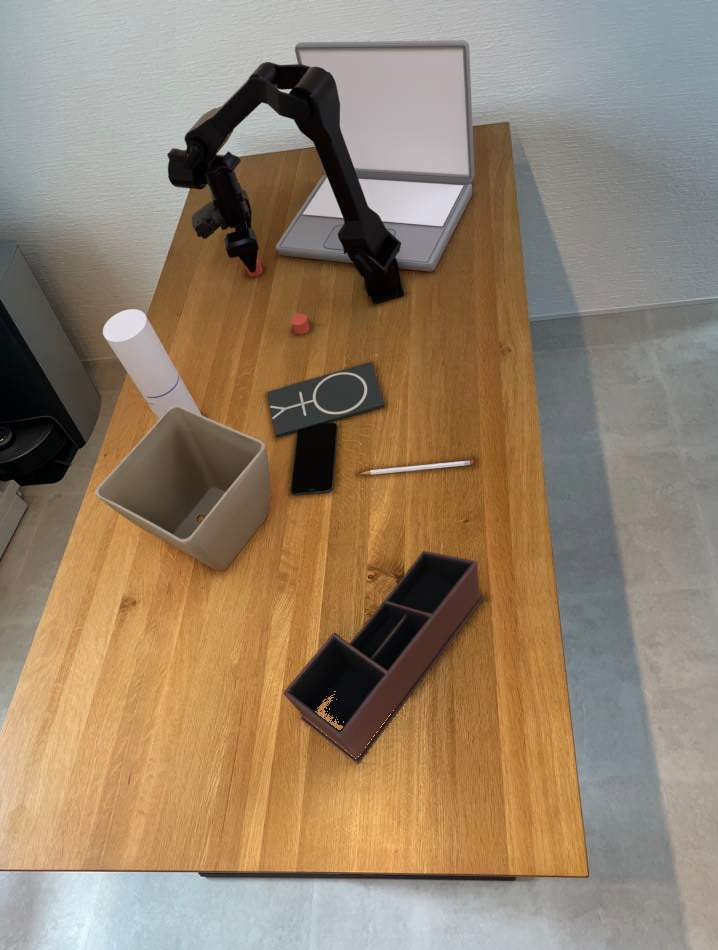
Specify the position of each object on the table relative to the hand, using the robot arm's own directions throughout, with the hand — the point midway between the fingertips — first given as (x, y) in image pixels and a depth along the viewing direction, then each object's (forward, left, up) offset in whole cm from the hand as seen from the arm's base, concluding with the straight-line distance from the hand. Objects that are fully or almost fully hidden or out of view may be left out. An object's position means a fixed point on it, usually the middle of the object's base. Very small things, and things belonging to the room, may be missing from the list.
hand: (250, 258), depth 144 cm
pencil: (-20, +63, -4) cm, 66 cm away
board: (-8, +42, -3) cm, 43 cm away
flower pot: (+14, +64, -4) cm, 66 cm away
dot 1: (0, 0, -3) cm, 3 cm away
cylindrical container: (+18, +40, -4) cm, 44 cm away
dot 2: (-7, +22, -3) cm, 23 cm away
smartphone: (-4, +55, -4) cm, 55 cm away
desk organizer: (-9, +94, -4) cm, 94 cm away
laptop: (-28, -4, -4) cm, 28 cm away
